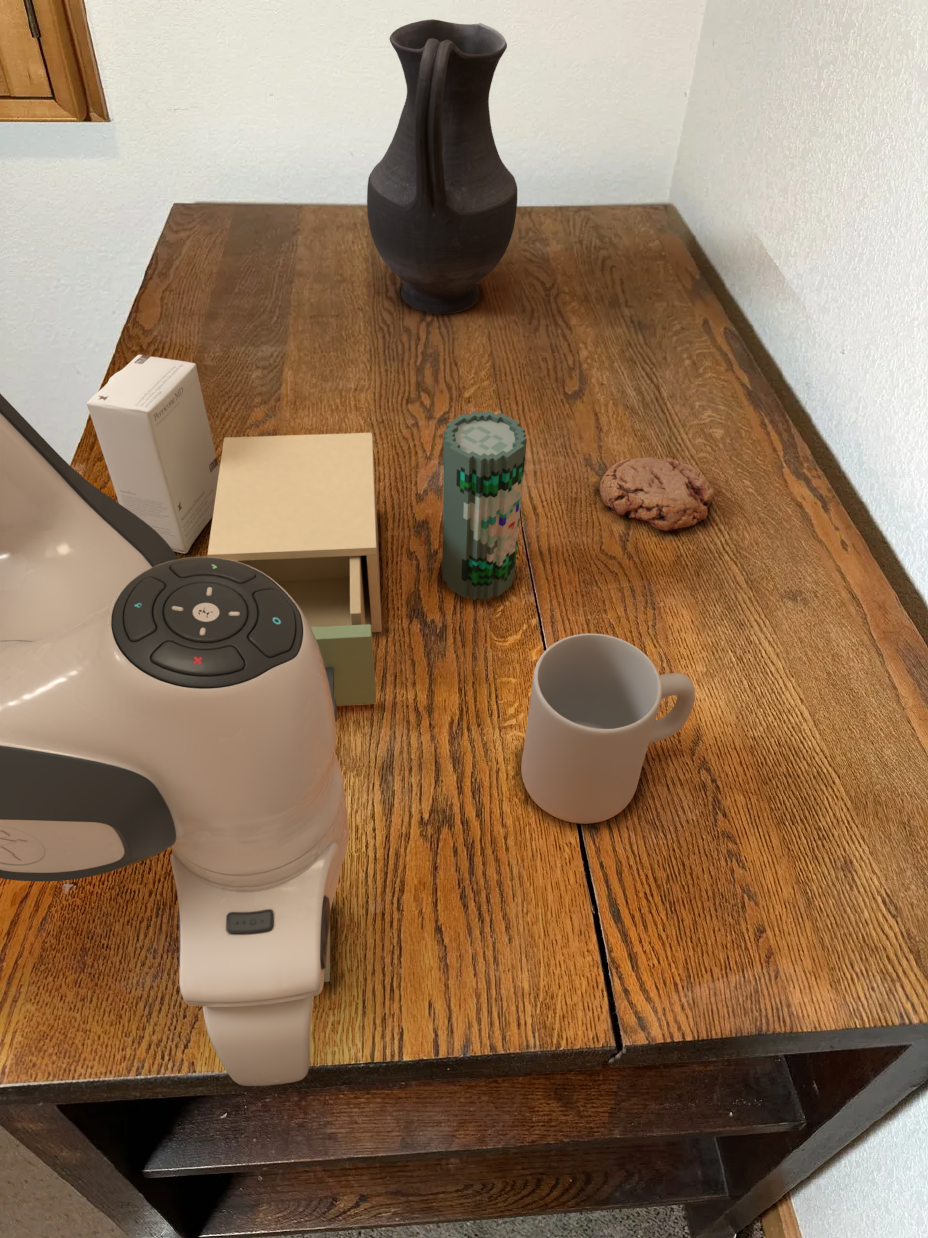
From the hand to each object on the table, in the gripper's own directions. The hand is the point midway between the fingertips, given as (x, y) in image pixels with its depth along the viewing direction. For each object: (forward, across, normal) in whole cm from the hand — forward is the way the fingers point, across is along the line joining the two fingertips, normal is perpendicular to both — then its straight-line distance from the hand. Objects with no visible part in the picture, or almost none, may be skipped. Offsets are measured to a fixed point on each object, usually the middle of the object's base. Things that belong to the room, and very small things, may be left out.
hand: (291, 939), depth 58 cm
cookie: (+2, -42, +33) cm, 53 cm away
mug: (+2, -12, +22) cm, 25 cm away
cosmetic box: (+2, -42, -12) cm, 44 cm away
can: (+2, -33, +15) cm, 36 cm away
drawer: (+1, -23, 0) cm, 23 cm away
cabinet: (+2, -34, 0) cm, 34 cm away
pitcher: (+2, -81, +15) cm, 82 cm away
